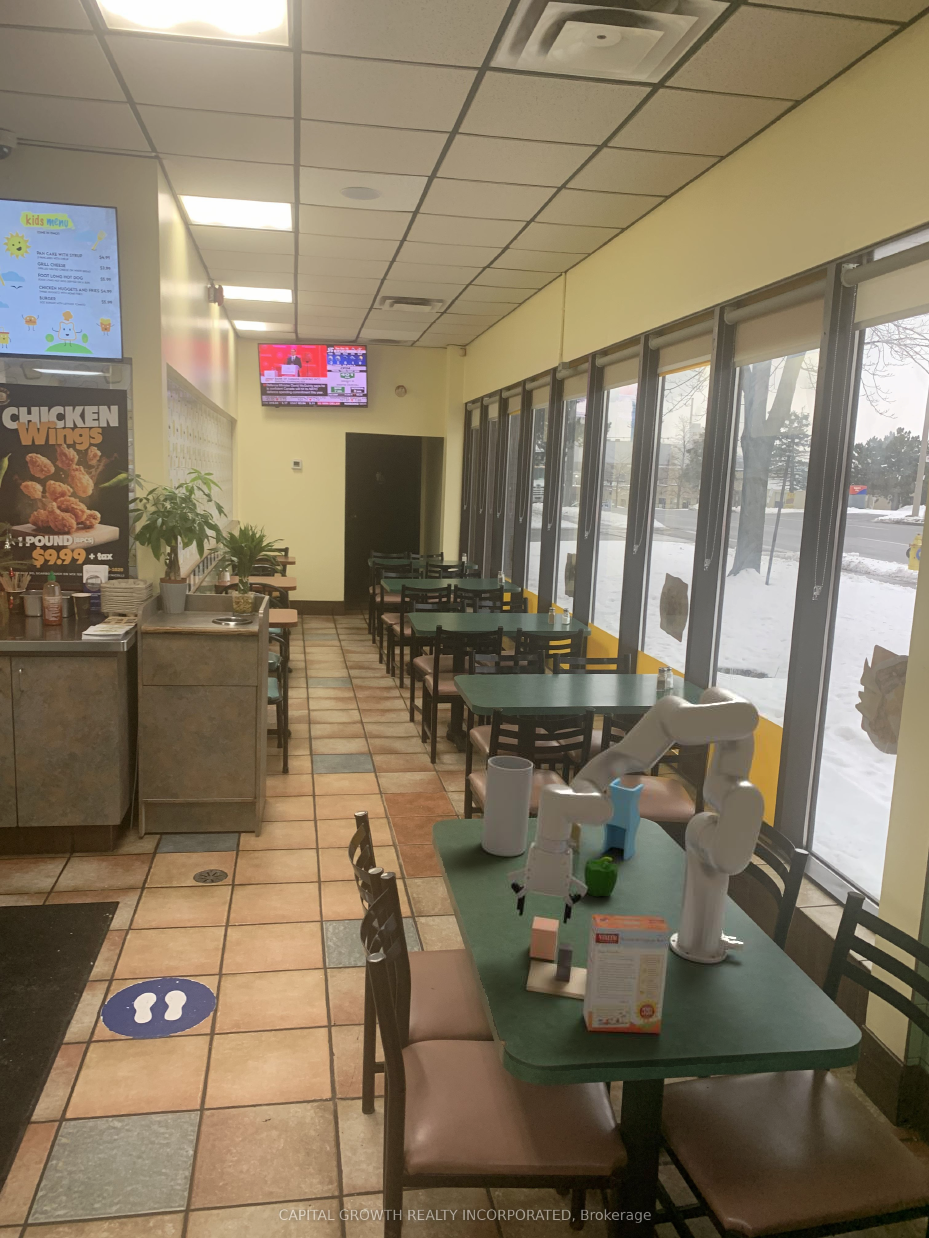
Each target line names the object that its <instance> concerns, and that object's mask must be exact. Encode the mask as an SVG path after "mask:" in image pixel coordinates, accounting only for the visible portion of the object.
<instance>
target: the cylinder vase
mask: <svg viewBox="0 0 929 1238" xmlns="http://www.w3.org/2000/svg"><path fill="white" fill-rule="evenodd" d="M533 771H534V763H533V762H532V761H530V760H529V759H526V758H522V757H519V756H512V755H498V756H493V757H489V759H488V760H487V769H486V783H485V793H484V794H485V795H484V805H483V806H484V808H483V820H482V831H481V832H482V834H481V836H482V837H481V847H482V849H483V850H484V851H485V852H487V853H488V854H491V855H494V856H497V857H517V856H520V855H522V854H523V853H525V852H526V849H527V839H528V829H529V827H528V826H529V818H530V817H529V816H530V805H531V793H532V780H533Z"/></svg>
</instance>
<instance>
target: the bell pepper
mask: <svg viewBox="0 0 929 1238" xmlns="http://www.w3.org/2000/svg"><path fill="white" fill-rule="evenodd" d="M612 860H613V858H612V857H609V856H604V857H602V858H600V859H593V858H589V859H588V861H587V862H586V863H585V865H584V866H585V867H584V871H583V872H584V874H583V875H584V884H585V885H586V886H587V887H588V888H587V892H586V893H588V894H589V895H590V896H592V897H601V896H603V897H608V896H610V895H611V894H612V893H613V892H614V888H615V887H616V884H617V881H618V880H617V879H618V870H619V869H618V866H617V864H615V863H613V862H612ZM609 862H610V863H609ZM611 862H612V863H611Z"/></svg>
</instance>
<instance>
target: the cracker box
mask: <svg viewBox="0 0 929 1238" xmlns="http://www.w3.org/2000/svg"><path fill="white" fill-rule="evenodd" d="M670 934H671V930H670V928H669V927H668V925H667V923H666V921H665V919H664V918H663V917H659V916H655V917H654V916H641V915H640V916H637V915H634V916H632V915H614V914H613V915H612V914H591V919H590V931H589V941H588V942H589V943H588V951H587V952H588V955H587V962H586V963H587V965H586V969H587V975H586V986H585V997H584V999H583V1009H582V1010H583V1011H582V1014H583V1018H584V1022H585V1025H586V1029H587V1031H588V1032H613V1033H615V1032H616V1033H617V1032H618V1033H644V1034H661V1024H662V1014H663V1013H662V1012H663V1003H664V997H665V996H664V993H665V985H666V976H667V974H666V973H667V963H668V955H669V947H670V938H671V936H670Z"/></svg>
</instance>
